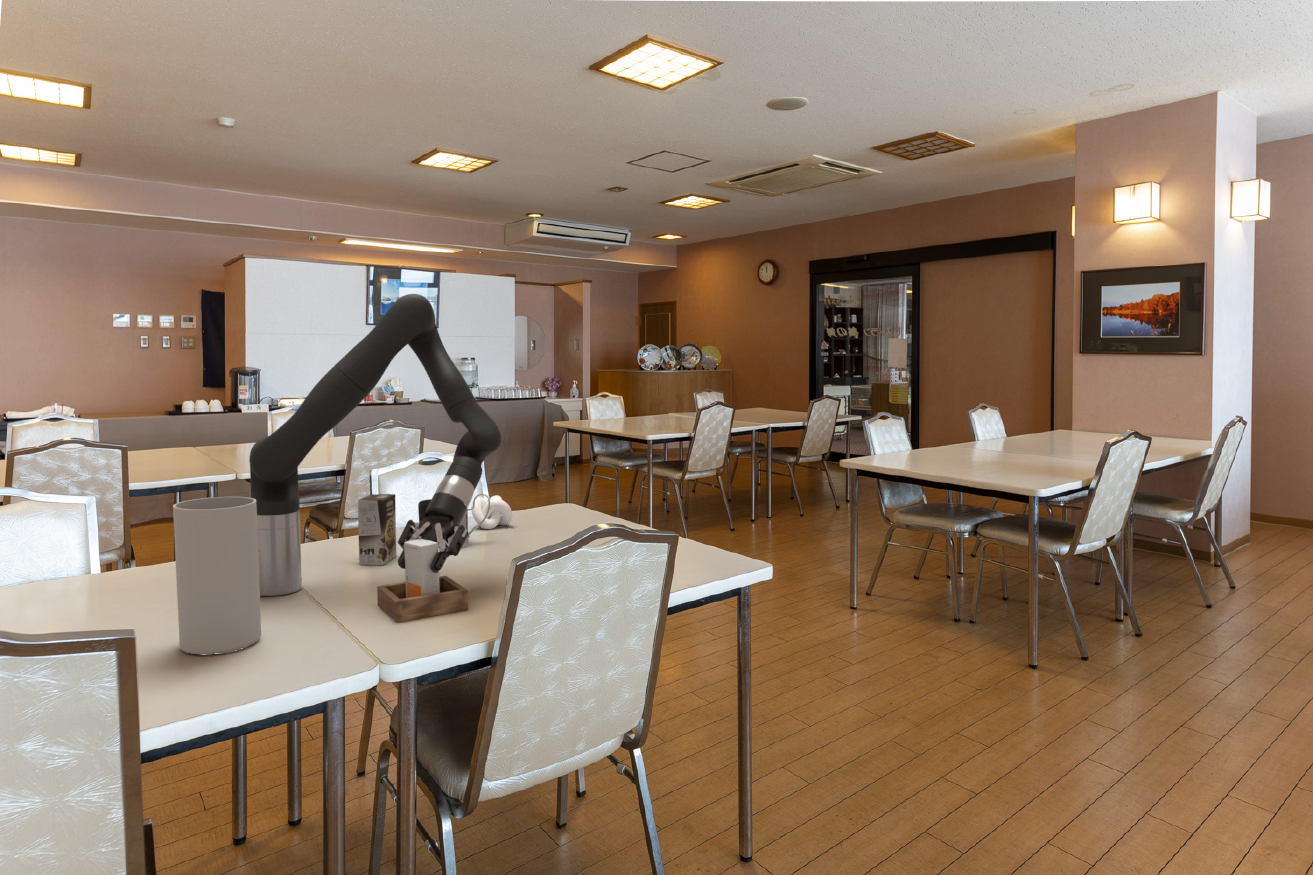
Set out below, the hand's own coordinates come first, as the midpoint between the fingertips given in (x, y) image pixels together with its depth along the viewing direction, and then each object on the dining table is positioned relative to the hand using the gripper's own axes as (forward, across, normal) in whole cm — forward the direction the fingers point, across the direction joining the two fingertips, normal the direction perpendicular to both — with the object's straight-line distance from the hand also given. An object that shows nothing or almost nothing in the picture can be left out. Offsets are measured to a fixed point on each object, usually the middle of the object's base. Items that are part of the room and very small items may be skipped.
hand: (417, 568), depth 157 cm
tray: (+5, 0, +7) cm, 8 cm away
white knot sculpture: (-46, -28, +58) cm, 79 cm away
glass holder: (-30, -23, +42) cm, 56 cm away
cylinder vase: (+26, -20, -14) cm, 36 cm away
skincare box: (+4, 0, +6) cm, 7 cm away
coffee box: (-14, -33, +26) cm, 44 cm away
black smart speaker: (-33, -35, +45) cm, 66 cm away
